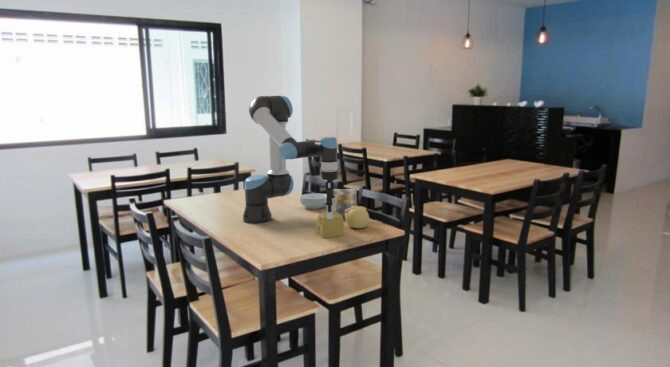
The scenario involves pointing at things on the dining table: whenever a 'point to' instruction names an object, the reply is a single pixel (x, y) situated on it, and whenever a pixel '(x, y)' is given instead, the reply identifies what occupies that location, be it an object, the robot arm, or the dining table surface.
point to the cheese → (330, 225)
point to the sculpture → (357, 217)
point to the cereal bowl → (313, 200)
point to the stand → (344, 200)
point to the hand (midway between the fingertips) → (330, 215)
